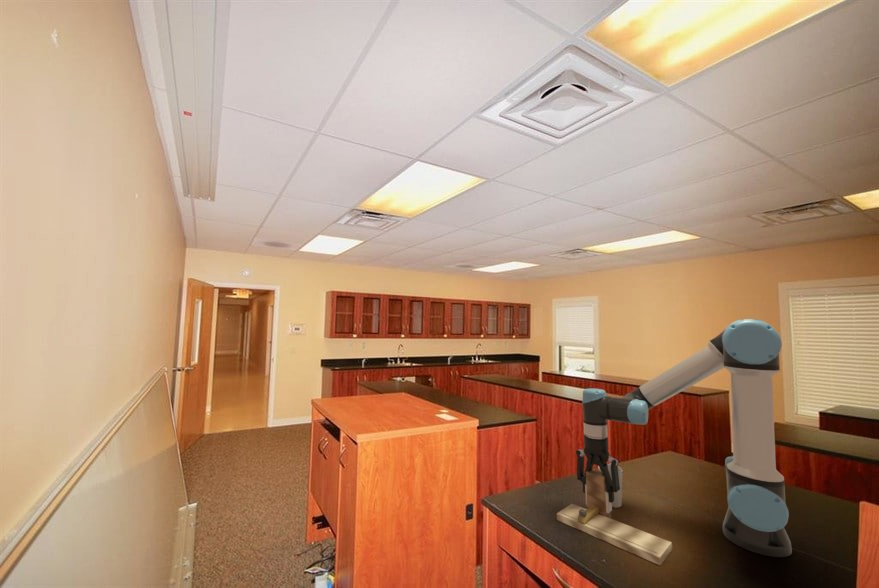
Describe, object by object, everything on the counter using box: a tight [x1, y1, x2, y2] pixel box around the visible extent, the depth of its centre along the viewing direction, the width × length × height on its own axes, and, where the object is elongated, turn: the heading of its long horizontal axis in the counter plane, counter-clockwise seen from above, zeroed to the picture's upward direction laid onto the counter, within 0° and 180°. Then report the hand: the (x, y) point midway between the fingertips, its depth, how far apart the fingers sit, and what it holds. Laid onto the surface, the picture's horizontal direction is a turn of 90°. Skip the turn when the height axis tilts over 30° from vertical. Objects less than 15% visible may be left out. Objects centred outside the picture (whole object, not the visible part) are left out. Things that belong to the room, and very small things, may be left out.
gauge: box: [578, 468, 612, 524], centre depth 116 cm, size 6×14×14 cm, turn 131°
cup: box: [597, 463, 624, 508], centre depth 128 cm, size 8×8×12 cm
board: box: [556, 503, 673, 566], centre depth 109 cm, size 30×10×2 cm, turn 41°
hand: (598, 507), depth 119 cm, fingers closed on gauge, 6 cm apart
